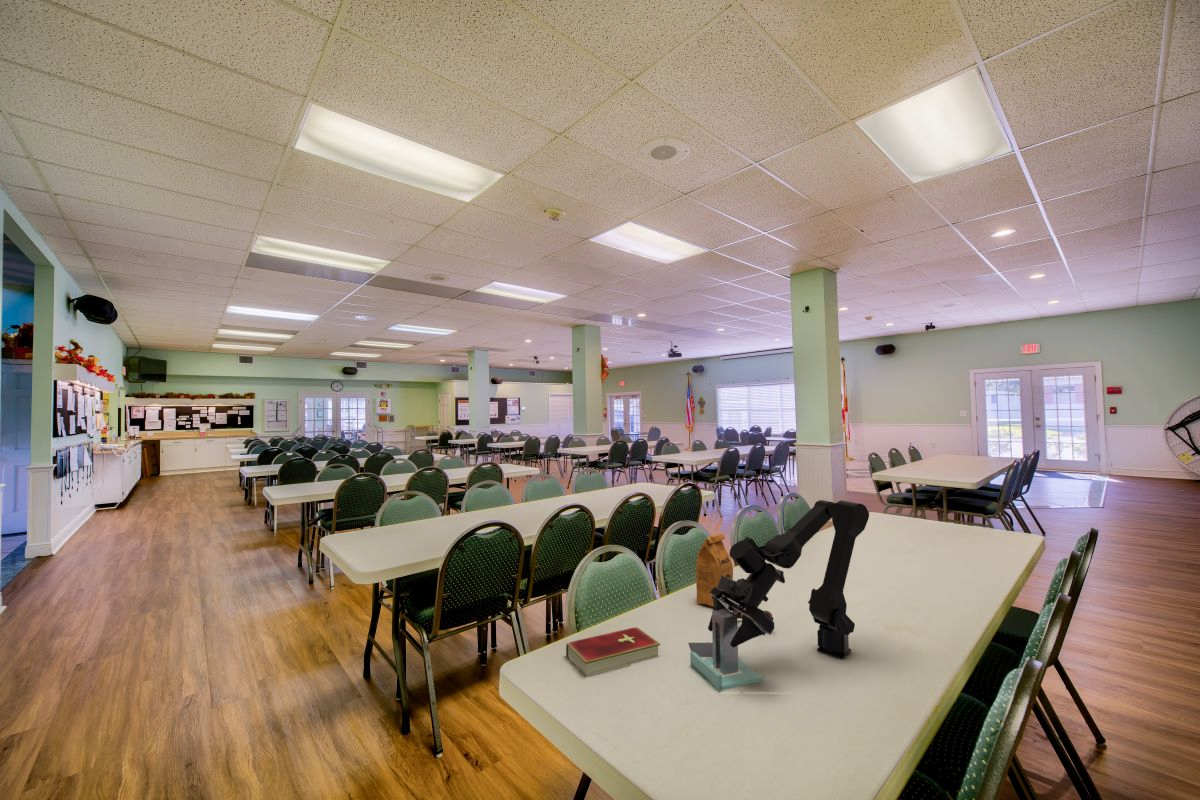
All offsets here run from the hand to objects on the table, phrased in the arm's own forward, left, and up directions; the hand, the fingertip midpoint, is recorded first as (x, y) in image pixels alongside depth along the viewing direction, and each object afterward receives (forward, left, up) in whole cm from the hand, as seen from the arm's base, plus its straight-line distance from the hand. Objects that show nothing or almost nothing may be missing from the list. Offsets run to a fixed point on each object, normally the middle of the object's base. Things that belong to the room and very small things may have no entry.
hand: (720, 637), depth 116 cm
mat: (+9, -8, -9) cm, 15 cm away
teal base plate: (-1, -1, -9) cm, 9 cm away
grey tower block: (-1, -1, -7) cm, 8 cm away
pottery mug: (+7, -28, -9) cm, 31 cm away
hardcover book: (+25, +11, -9) cm, 29 cm away
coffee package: (+26, -40, -9) cm, 49 cm away
